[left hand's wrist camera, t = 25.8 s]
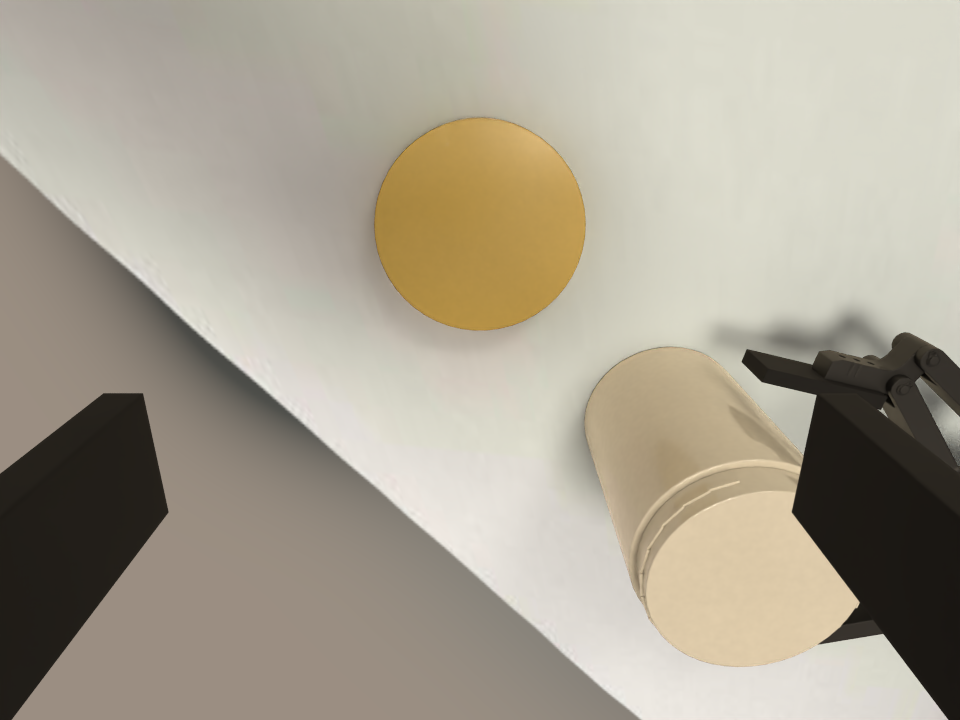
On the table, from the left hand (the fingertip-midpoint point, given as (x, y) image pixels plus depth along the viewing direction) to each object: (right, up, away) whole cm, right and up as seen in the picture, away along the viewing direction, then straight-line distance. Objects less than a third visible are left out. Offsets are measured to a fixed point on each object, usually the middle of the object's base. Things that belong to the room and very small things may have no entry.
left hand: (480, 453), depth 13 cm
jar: (+12, -2, +29) cm, 31 cm away
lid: (0, +9, +23) cm, 24 cm away
